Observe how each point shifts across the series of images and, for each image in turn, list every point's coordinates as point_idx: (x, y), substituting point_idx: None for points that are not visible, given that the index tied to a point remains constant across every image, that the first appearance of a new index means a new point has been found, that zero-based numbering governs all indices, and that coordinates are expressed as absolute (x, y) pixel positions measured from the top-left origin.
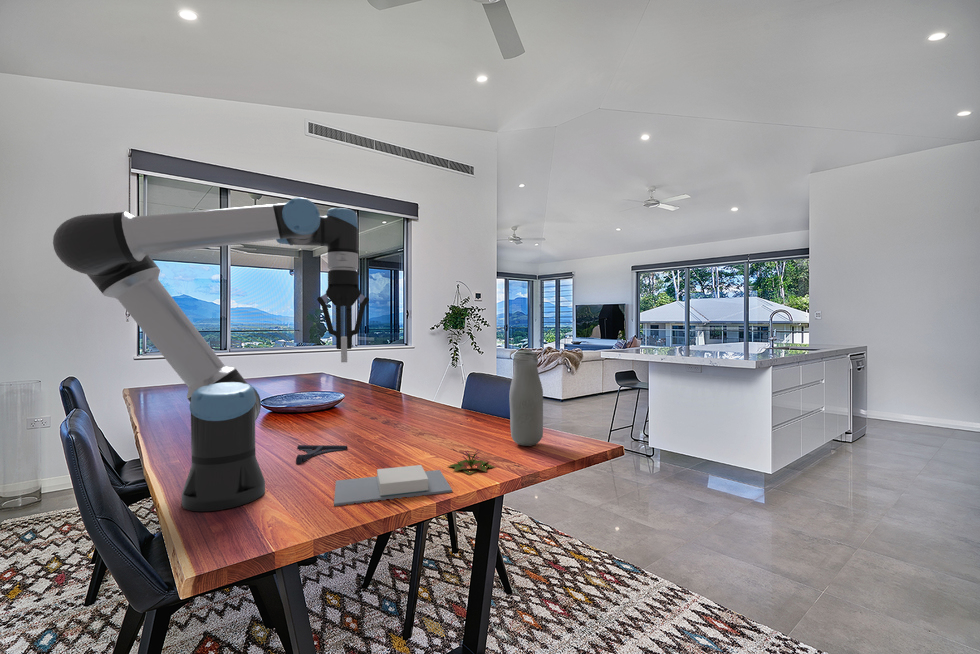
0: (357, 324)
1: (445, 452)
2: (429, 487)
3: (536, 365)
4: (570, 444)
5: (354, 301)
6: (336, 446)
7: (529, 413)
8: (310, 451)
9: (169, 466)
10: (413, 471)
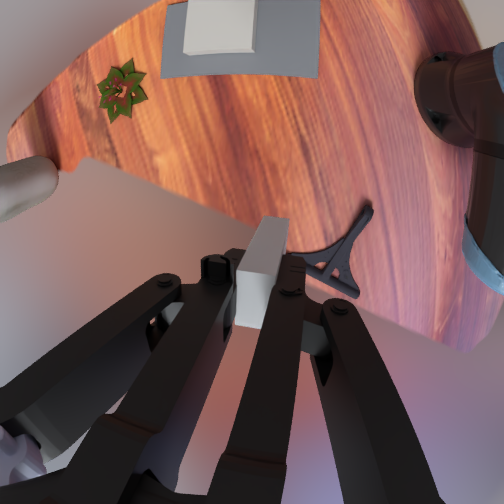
0: (133, 308)
1: (137, 172)
2: None
3: None
4: None
5: (48, 474)
6: None
7: (17, 162)
8: (344, 265)
9: None
10: (200, 26)
